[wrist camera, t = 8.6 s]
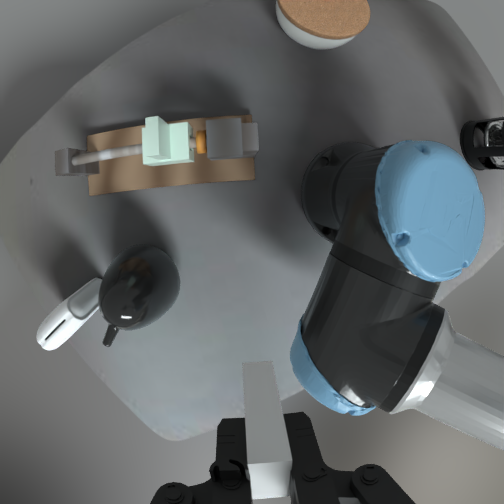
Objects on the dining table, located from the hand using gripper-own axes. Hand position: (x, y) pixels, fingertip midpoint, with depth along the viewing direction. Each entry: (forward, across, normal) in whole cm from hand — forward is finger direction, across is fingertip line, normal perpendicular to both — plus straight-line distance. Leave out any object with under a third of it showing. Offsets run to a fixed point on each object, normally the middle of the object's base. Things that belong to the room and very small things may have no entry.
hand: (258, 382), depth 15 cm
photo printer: (+30, +26, +6) cm, 40 cm away
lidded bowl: (+30, -12, -35) cm, 47 cm away
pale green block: (+22, +8, -15) cm, 28 cm away
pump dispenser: (+30, +14, +2) cm, 33 cm away
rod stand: (+29, +10, -15) cm, 34 cm away
